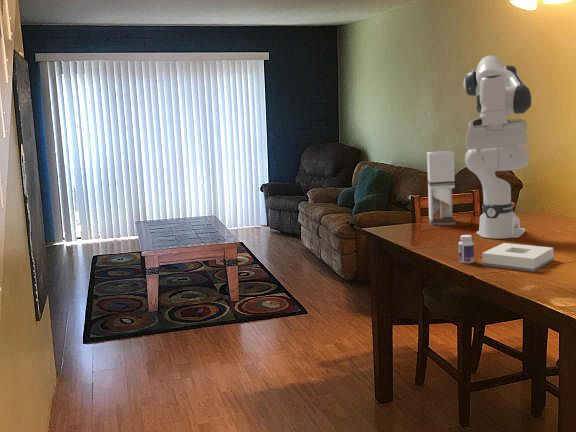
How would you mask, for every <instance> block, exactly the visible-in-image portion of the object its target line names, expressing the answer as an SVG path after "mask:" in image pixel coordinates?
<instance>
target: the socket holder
mask: <svg viewBox="0 0 576 432" xmlns="http://www.w3.org/2000/svg"><path fill="white" fill-rule="evenodd" d="M552 261H554V247H549V246H542V245H541V246H537V245H532V244H531V245H530V244H520V243H509V242H508V243H507V242H503V243H501V244H498V245H497V246H494V247H492V248H490V249H488V250H485V251H484V252H482V253H481V264H482V265H481V266H484V267H492V268H493V267H494V268H498V269H499V268H502V269H509V270H514V271H515V270H517V271H524V272H532V273H534V272H536V271H537V270H540V269H541V268H543V267H545V266H546V265H548V264H549V263H551V262H552Z"/></svg>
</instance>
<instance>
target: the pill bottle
mask: <svg viewBox="0 0 576 432" xmlns="http://www.w3.org/2000/svg"><path fill="white" fill-rule="evenodd" d="M459 239H460V241H459V242H458V246H457V247H458V262H459V263H461V264H473V263H474V262H475V243H474V241H472V240H473V237H472V235H471V234H462V235H460V238H459Z"/></svg>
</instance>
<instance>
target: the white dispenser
mask: <svg viewBox="0 0 576 432" xmlns="http://www.w3.org/2000/svg"><path fill="white" fill-rule="evenodd" d="M426 158H427V159H426V164H427V166H426V167H427V190H428V191H427V196H428V197H427V198H428V199H427V201H428V222H429V224H430V223H431V224H430V225H431V226H447V225H448V226H449V225H456V222H457V221H456V219H455V218H454V217H453V189H455V188H456V187H455V186H456V185H455V184H456V183H455V180H456V179H455V152H453V151H451V150H443V151H442V150H441V151H428V152H426ZM435 224H437V225H435Z"/></svg>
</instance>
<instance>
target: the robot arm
mask: <svg viewBox="0 0 576 432" xmlns="http://www.w3.org/2000/svg"><path fill="white" fill-rule="evenodd" d="M462 84H463V89H464V91H465V93H466V94H467V95H468V96H469V97H475V98H476V111H477V112H478V113H479V117H478V118H475V119H472V120H470V121H469V122H468V123H467V125H468V130H467V132H466V134H465V135H466V136H465V149H466V150H467V151H466V153H465V155H464V163H465V166H466V168H467V169H468V170H469V171H471V172H472V173H473V174H474V175H476V177H477V178H478V179H479V181H480V184H481V186H482V194H483V195H482V196H483V197H482V198H483V203H482V206H481V208H482V214H481V215H480V216H479V225H478V226H479V229H478V230H477V231H476V235H479V236H480V237H481V238H487V239H496V240H497V239H511V238H512V239H513V238H514V239H515V238H517V239H518V238H521V236H522V235H523V234H524V233H525V232H526V231H527V230H526V228H523V227H521V221H520V218H519V217H518V216H517V214H516V213H515V212H514V208H515V206H516V204H515V202H512V195H511V194H512V192H511V191H512V188H511V187H512V186H511V184H510V183H509V182H508V181H506V180H505V179H502V178H500V177H497V175H496V172H506V171H515V170H521V169H523V168H525V167H527V166H528V163H529V160H530V152H529V149H528V148H527V147H526V146H525V145H526V144H527V143H528V136H527V131H526V130H527V128H528V123H527V120H525V119H523V118H517V119H516V118H515V119H513V118H512V119H509V115H512V114H513V115H514V114H517V115H518V114H519V115H520V114H525V113H526V112H527V111H529V109H530V108H531V107H532V103H533V96H532V93H531V90H530V88H528V86H526V85H525V84H524V83H523V81H522V80H521V79H520V75H519V72H518V70H517V68H516V66H514V65H504V62H502V60H501V59H500V58H499V57H497V56H495V55H486V56H484V57H482V58H481V59H480V61H479V62H478V64H477V67H476V69H472V70H471V71H469V72H467V73H466V74H465V76H464V79H463V83H462Z"/></svg>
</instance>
